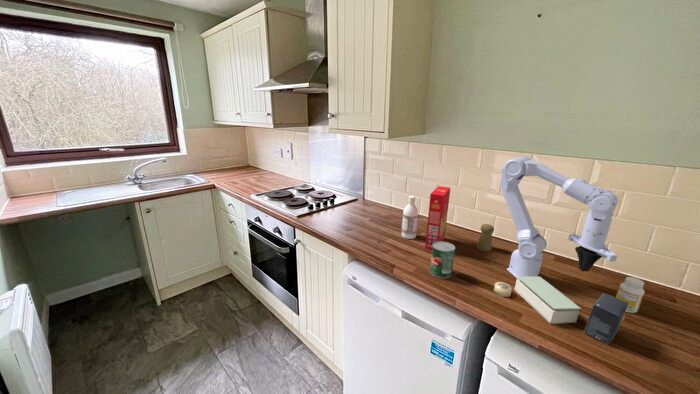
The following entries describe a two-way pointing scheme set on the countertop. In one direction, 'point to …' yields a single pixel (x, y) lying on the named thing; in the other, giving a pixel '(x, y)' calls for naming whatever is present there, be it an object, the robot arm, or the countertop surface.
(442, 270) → the canned tomato
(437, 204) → the food packaging
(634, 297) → the supplement bottle
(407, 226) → the bath foam
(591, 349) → the countertop surface
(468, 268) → the countertop surface
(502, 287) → the cream domed disc
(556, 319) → the keepsake box
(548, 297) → the lid
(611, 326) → the box
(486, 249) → the olive pepper mill
